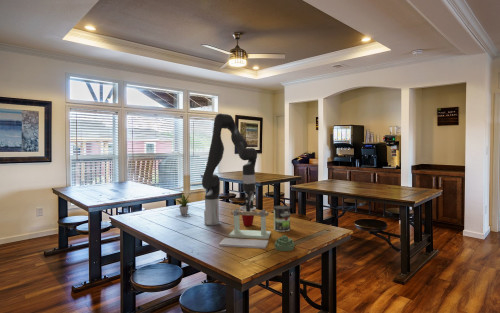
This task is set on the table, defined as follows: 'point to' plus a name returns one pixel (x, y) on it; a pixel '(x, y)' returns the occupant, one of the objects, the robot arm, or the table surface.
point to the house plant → (183, 204)
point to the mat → (244, 243)
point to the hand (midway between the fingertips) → (249, 209)
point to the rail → (250, 213)
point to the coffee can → (281, 218)
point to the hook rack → (250, 233)
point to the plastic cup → (247, 216)
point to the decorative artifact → (284, 244)
